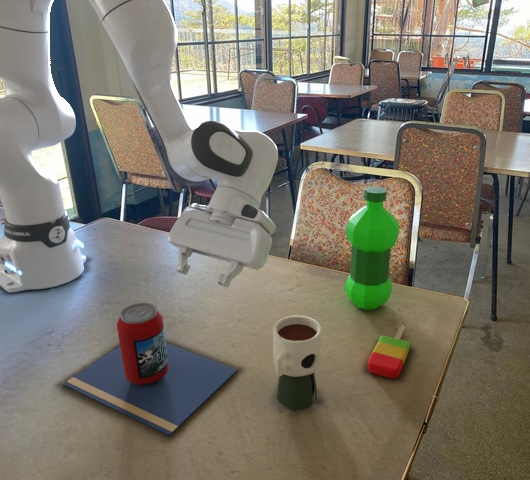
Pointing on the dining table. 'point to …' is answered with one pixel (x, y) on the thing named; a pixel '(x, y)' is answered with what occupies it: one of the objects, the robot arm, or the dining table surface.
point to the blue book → (154, 387)
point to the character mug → (296, 360)
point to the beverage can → (142, 343)
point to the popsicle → (389, 355)
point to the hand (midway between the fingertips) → (201, 279)
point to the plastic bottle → (371, 251)
